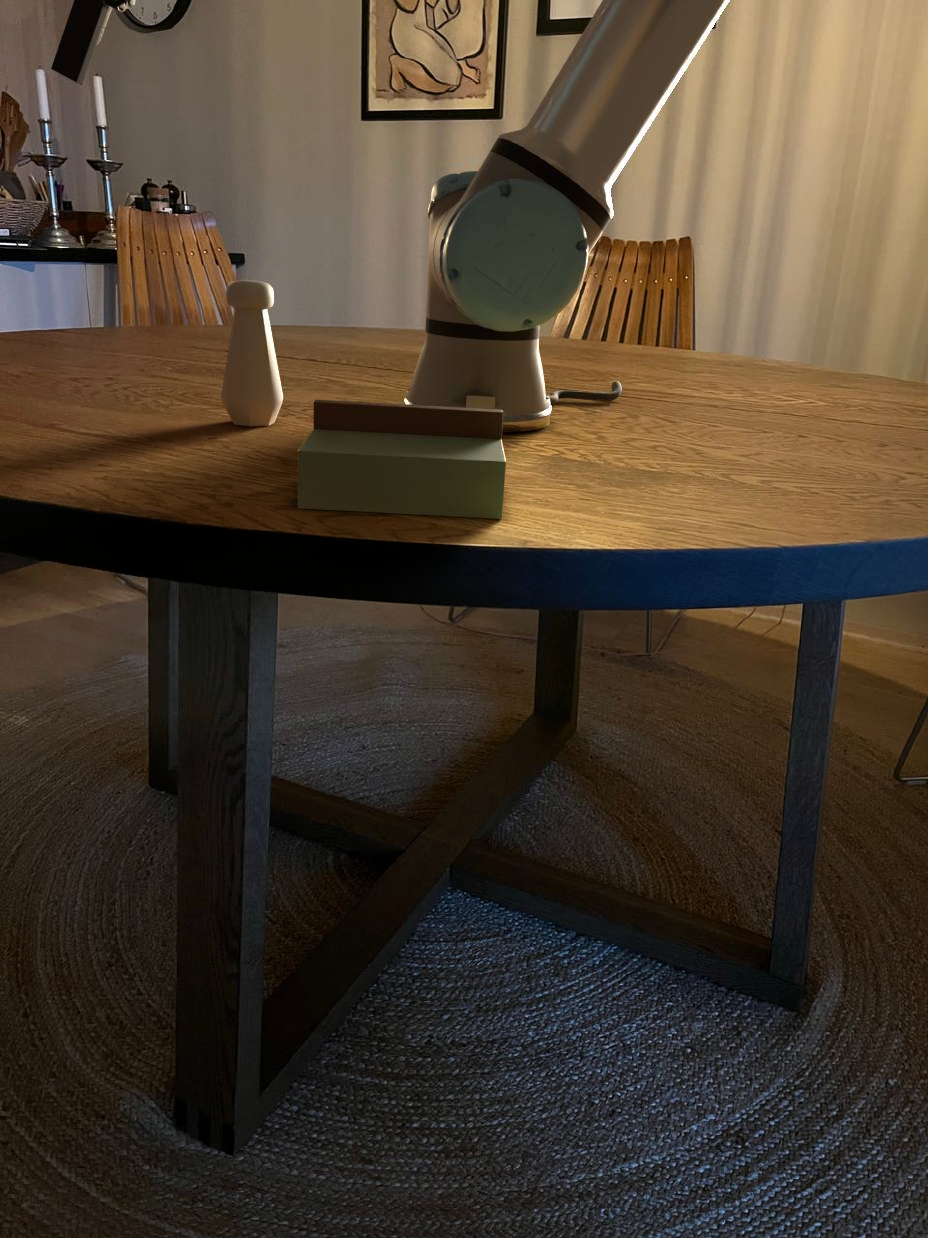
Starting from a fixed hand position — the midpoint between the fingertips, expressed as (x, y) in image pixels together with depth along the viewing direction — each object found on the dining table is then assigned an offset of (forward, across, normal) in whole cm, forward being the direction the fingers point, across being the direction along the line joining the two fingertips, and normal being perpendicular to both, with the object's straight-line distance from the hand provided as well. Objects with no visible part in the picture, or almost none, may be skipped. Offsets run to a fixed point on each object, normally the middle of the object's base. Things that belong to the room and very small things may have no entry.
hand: (9, 47), depth 77 cm
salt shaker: (+20, -18, +22) cm, 35 cm away
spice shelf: (+14, +2, +45) cm, 47 cm away
